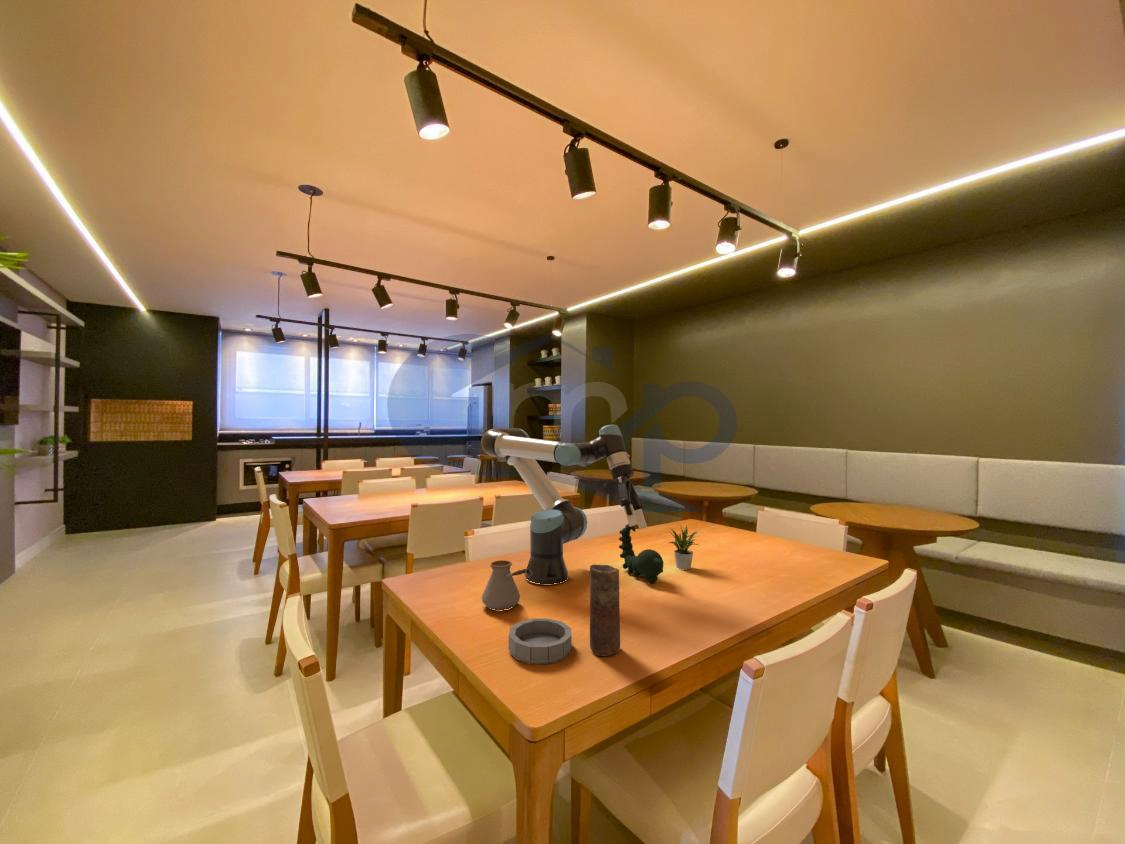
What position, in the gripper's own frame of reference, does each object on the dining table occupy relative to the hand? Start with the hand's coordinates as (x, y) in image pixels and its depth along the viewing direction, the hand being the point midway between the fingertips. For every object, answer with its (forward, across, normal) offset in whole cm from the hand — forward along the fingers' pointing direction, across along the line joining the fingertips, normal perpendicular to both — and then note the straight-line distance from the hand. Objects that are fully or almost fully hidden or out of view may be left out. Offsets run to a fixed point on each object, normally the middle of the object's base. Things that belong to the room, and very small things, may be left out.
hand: (638, 526), depth 148 cm
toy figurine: (+15, +18, +8) cm, 25 cm away
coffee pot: (+16, -26, +39) cm, 49 cm away
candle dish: (+26, -41, +24) cm, 54 cm away
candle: (+30, -35, +10) cm, 47 cm away
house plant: (+16, +34, -6) cm, 38 cm away
